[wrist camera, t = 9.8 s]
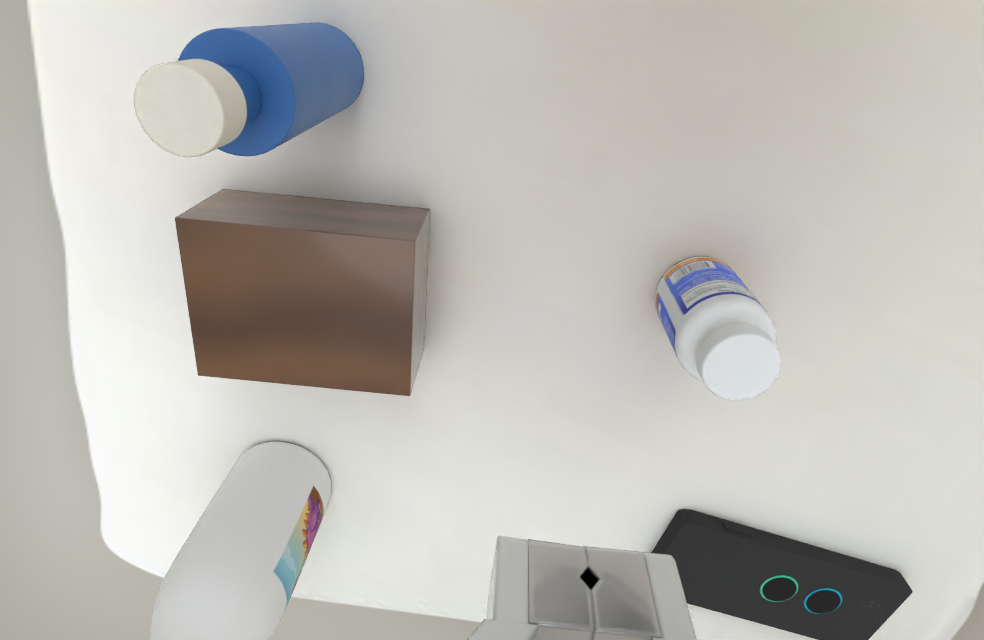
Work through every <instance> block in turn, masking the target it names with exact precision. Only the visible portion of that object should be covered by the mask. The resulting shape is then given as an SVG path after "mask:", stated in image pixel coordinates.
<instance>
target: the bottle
mask: <svg viewBox="0 0 984 640" xmlns="http://www.w3.org/2000/svg"><path fill="white" fill-rule="evenodd" d="M363 79H364V70H363V63H362V59H361V56H360V54H359V51H358V49H357V48H356V46H355V44H354V43H353V42H352V40H351V39H350V38H349V37H348V36H347V35H346V34H345V33H343V32H342V31H341V30H339V29H337V28H335V27H333V26H331V25H328V24H324V23H302V24H285V25H269V26H252V27H236V28H220V29H213V30H209V31H206V32H204V33H202V34H200V35H198V36H196V37H195V38H194V39H192V40H191V41H190V42H189V43H188V44H187V46H186V47H185V48H184V50H183V51H182V53H181V55H180V57H179V60H178V61H176V62H169V63H162V64H158V65H155V66H153V67H151V68H150V69H148V70H147V71H146V72H145V73H144V74H143V75H142V76H141V78H140V79H139V81H138V83H137V86H136V89H135V94H134V105H135V111H136V115H137V118H138V120H139V122H140V124H141V126H142V128H143V129H144V131H145V132H146V134H147V135H148V136H149V137H150V138H151V139H152V141H154V142H155V143H156V144H157V145H158V146H160V147H161V148H163V149H164V150H166V151H168V152H170V153H172V154H175V155H179V156H183V157H197V156H201V155H204V154H206V153H208V152H210V151H213V150H215V149H219V150H221V151H224V152H226V153H230V154H233V155H239V156H255V155H259V154H263V153H266V152H268V151H270V150H272V149H274V148H276V147H277V146H279V145H281V144H283V143H285V142H286V141H288V140H290V139H292V138H294V137H295V136H297V135H299V134H301V133H302V132H304V131H306V130H308V129H310V128H311V127H313V126H315V125H317V124H319V123H320V122H322V121H324V120H326V119H328V118H329V117H331V116H333V115H335V114H337V113H338V112H340V111H342V110H344V109H345V108H347V107H349V106H350V105H351V104H352V103H353V102H354V101H355V100H356V98H357V97H358V95H359V93H360V91H361V88H362V85H363Z"/></svg>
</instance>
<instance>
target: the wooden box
mask: <svg viewBox="0 0 984 640" xmlns="http://www.w3.org/2000/svg"><path fill="white" fill-rule="evenodd" d="M175 221H176V228H177V235H178V242H179V249H180V255H181V262H182V269H183V276H184V283H185V289H186V296H187V303H188V310H189V317H190V323H191V330H192V337H193V344H194V351H195V357H196V364H197V371H198V375H199V376H209V377H220V378H230V379H240V380H250V381H261V382H271V383H281V384H291V385H302V386H312V387H322V388H332V389H343V390H353V391H363V392H373V393H384V394H394V395H404V396H410V395H411V391H412V388H413V385H414V381H415V378H416V374H417V371H418V367H419V364H420V361H421V357H422V354H423V350H424V339H425V315H426V292H427V269H428V246H429V223H430V209H422V208H412V207H402V206H391V205H381V204H371V203H361V202H350V201H340V200H330V199H319V198H309V197H299V196H289V195H278V194H268V193H258V192H248V191H237V190H227V189H222V190H221V191H219V192H217V193H216V194H214V195H212V196H211V197H209V198H207V199H205V200H204V201H202V202H200V203H199V204H197V205H195V206H194V207H192V208H190V209H189V210H187V211H185V212H184V213H182V214H180V215H179V216H177V217H175Z"/></svg>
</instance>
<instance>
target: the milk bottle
mask: <svg viewBox="0 0 984 640" xmlns="http://www.w3.org/2000/svg"><path fill="white" fill-rule="evenodd" d="M331 488H332V487H331V480H330V477H329V473H328V471H327V469H326V468H325V466H324V464H323V463H322V462H321V461H320V460H319V459H318V458H317V457H316V456H315V455H314V454H312V453H311V452H309V451H307V450H306V449H304V448H302V447H299V446H297V445H295V444H290V443H286V442H266V443H262V444H259V445H257V446H255V447H252V448H250V449H248V450H247V451H246V452H244V453H243V454H242V455H241V456H240V457H239V459H238V460H237V462H236V463H235V464H234V466H233V467H232V469H231V471H230V472H229V474H228V475H227V477H226V478H225V480H224V481H223V483H222V485H221V486H220V488H219V489H218V491H217V492H216V494H215V496H214V497H213V499H212V500H211V502H210V503H209V505H208V507H207V508H206V510H205V511H204V513H203V514H202V516H201V518H200V519H199V521H198V522H197V524H196V526H195V527H194V529H193V531H192V532H191V534H190V535H189V537H188V539H187V540H186V542H185V543H184V545H183V547H182V548H181V550H180V551H179V553H178V555H177V557H176V558H175V560H174V562H173V564H172V565H171V567H170V569H169V571H168V572H167V574H166V576H165V578H164V580H163V583H162V585H161V587H160V589H159V592H158V595H157V598H156V601H155V604H154V609H153V613H152V622H151V632H150V640H269V638H270V637H271V635H272V634H273V632H274V630H275V629H276V627H277V625H278V623H279V621H280V620H281V617H282V615H283V613H284V611H285V609H286V606H287V604H288V602H289V600H290V597H291V595H292V593H293V590H294V588H295V585H296V583H297V580H298V578H299V576H300V573H301V571H302V568H303V566H304V563H305V561H306V558H307V556H308V553H309V551H310V548H311V546H312V543H313V541H314V538H315V536H316V533H317V531H318V528H319V526H320V523H321V521H322V518H323V515H324V513H325V510H326V508H327V505H328V502H329V499H330V496H331Z"/></svg>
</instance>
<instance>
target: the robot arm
mask: <svg viewBox="0 0 984 640" xmlns="http://www.w3.org/2000/svg"><path fill="white" fill-rule="evenodd" d="M468 640H697V639H696V635H695V632H694V628H693V624H692V621H691V617H690V613H689V610H688V606H687V602H686V598H685V595H684V591H683V587H682V584H681V580H680V576H679V573H678V569H677V565H676V562H675V560H674V558H673V557H672V556H671V555H665V554H655V553H645V552H642V553H640V552H637V551H627V550H617V549H607V548H597V547H587V546H583V547H581V546H574V545H567V544H559V543H552V542H545V541H537V540H530V539H528V540H526V539H519V538H511V537H504V536H498V538H497V541H496V548H495V554H494V561H493V568H492V575H491V582H490V590H489V599H488V608H487V619H484V620H483V621H482V622H481V624H480V625H479V627H478V628H477V629H476V630H475V631H474V632H473V634H472V635H471V636H470V637H469V638H468Z"/></svg>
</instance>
